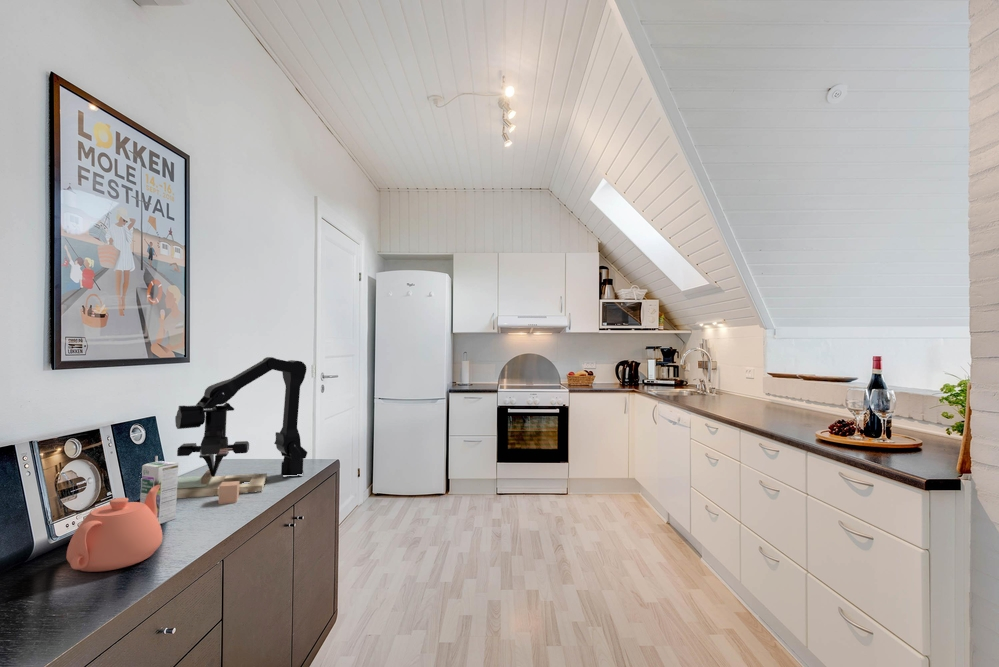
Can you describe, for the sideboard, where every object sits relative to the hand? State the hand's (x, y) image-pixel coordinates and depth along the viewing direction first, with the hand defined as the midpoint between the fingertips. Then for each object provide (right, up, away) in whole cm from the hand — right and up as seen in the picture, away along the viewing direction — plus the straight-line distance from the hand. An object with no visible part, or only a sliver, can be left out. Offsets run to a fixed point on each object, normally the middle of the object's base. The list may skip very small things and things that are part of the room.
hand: (213, 476), depth 151 cm
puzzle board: (+2, -4, +1) cm, 5 cm away
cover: (-6, -1, -2) cm, 7 cm away
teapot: (+9, -3, -49) cm, 50 cm away
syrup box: (+2, -3, -28) cm, 28 cm away
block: (+11, -4, -11) cm, 16 cm away
